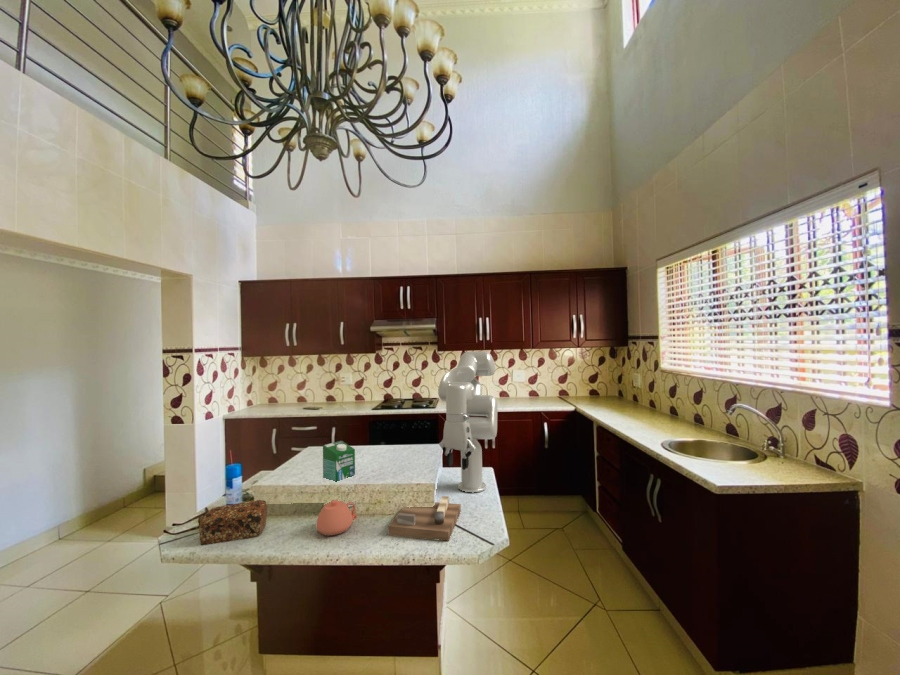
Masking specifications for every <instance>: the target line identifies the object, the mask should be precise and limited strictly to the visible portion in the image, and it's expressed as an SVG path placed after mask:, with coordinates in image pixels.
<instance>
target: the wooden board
mask: <svg viewBox="0 0 900 675" xmlns="http://www.w3.org/2000/svg"><path fill="white" fill-rule="evenodd" d="M434 502H435V501H434ZM439 504H440V502H438V501H437V502H435V505H434V506H433V507H410V508H409V507H404V506H403V507H402V509H400V511H398V513H397V515H396V516H395V517H394V518H393V519H392V520H391V522H390V524H389V525H388V529H387V530H388V536H395V537H403V538H414V539H415V538H416V539H423V538H426V539H425V540H432V539H439V540H438V541H442V540H447V541H446V542H449V541H450V539H451V537H452V534H453V532H454V530H455V527H456V525H457V523H458V520H459V518H458V517H460V515H461V513H462V511H461V510H462V509H461V507H462V506H461V505H462V504H461V503H450V502H449V504H448V507H447V510H446V514H445V517H444V523H442V524H436V523H435V512H437V509H438V506H439ZM460 512H461V513H460ZM457 519H458V520H457ZM455 524H456V525H455ZM453 529H454V530H453ZM450 536H451V537H450Z"/></svg>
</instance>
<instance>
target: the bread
mask: <svg viewBox="0 0 900 675" xmlns="http://www.w3.org/2000/svg"><path fill="white" fill-rule="evenodd" d="M267 517H268V505H267V501H265V500H262V499H257V500H250V501H243V502H239V503H234V504H227V505H226V504H225V505H220V506H217V507H213V508H211V509H209V510H208V511H207V513H204V515H203V516H202V519H201V520H200V523H199V526H198V528H199V529H198V531H199V532H198V533H199V542H200V546H206V545H214V544H217V543H218V544H220V542H221V543H225V542H230V541H231V542H233V541H237V540H245V539H250V538H254V537H259V536H261V534H262V533H263V531H264V529H265V528H266V525H267ZM213 543H214V544H213Z"/></svg>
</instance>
